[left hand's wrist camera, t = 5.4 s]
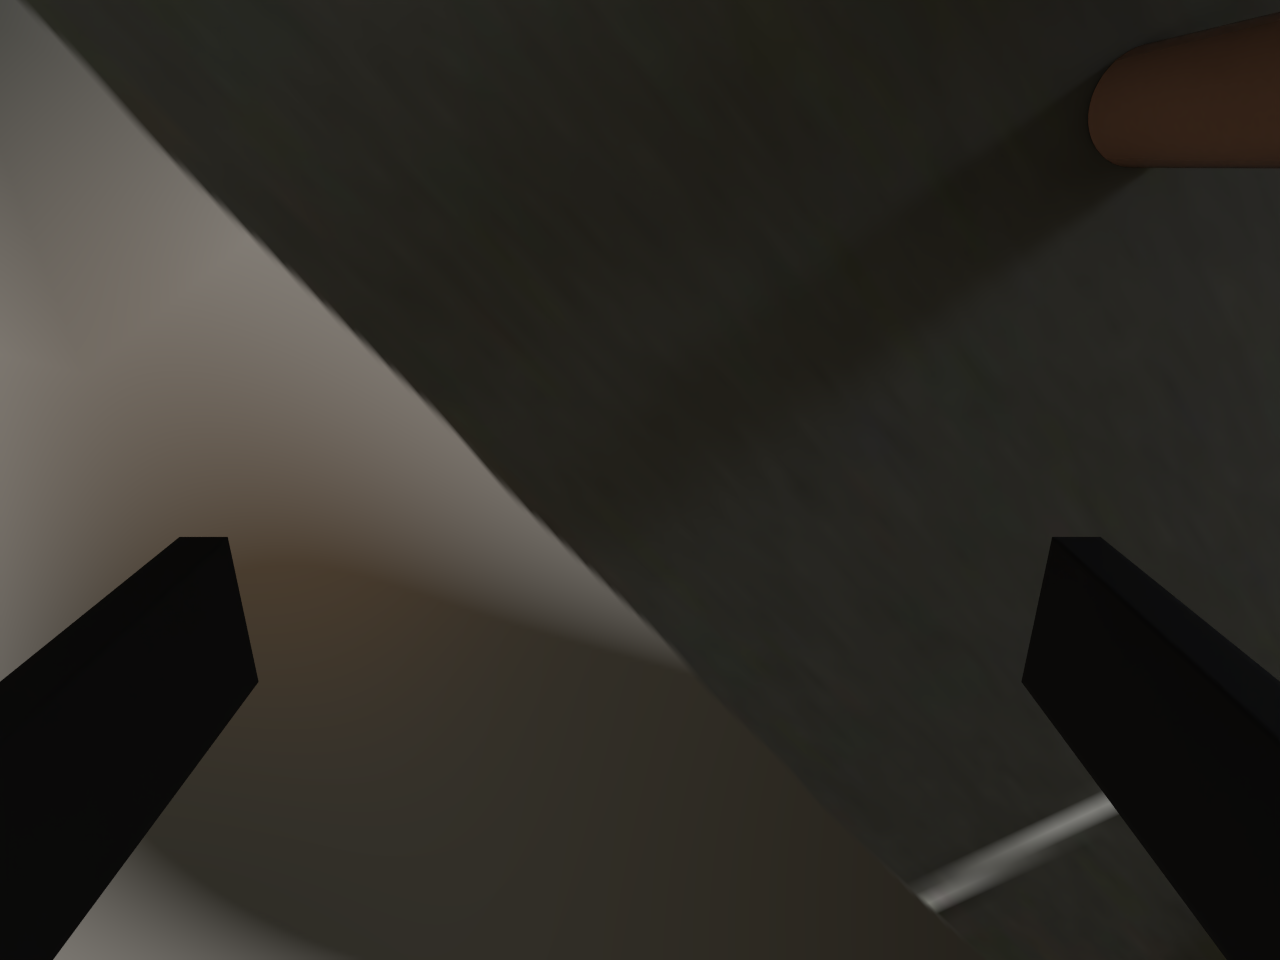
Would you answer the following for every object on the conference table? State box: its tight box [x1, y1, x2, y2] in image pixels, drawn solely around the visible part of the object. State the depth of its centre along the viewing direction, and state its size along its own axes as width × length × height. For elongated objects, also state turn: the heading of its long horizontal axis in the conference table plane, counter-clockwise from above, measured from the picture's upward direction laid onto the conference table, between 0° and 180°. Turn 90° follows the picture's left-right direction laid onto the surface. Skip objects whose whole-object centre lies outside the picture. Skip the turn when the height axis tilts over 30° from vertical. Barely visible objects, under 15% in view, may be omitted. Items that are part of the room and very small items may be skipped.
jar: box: [1088, 12, 1280, 168], centre depth 28 cm, size 5×5×15 cm
